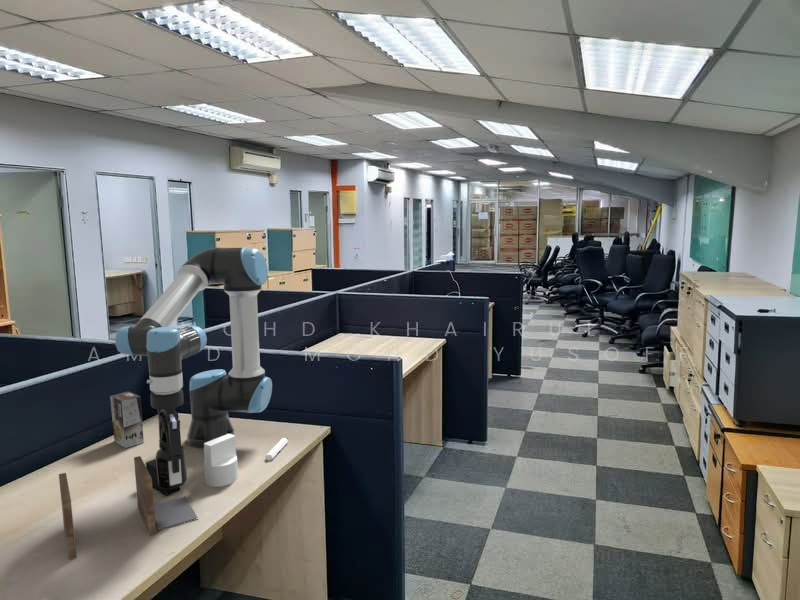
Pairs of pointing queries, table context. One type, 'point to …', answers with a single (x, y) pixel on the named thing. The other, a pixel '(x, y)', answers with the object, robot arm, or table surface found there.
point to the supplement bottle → (164, 467)
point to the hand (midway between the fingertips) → (172, 477)
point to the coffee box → (127, 419)
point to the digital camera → (152, 471)
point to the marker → (276, 449)
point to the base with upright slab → (221, 461)
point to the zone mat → (173, 513)
